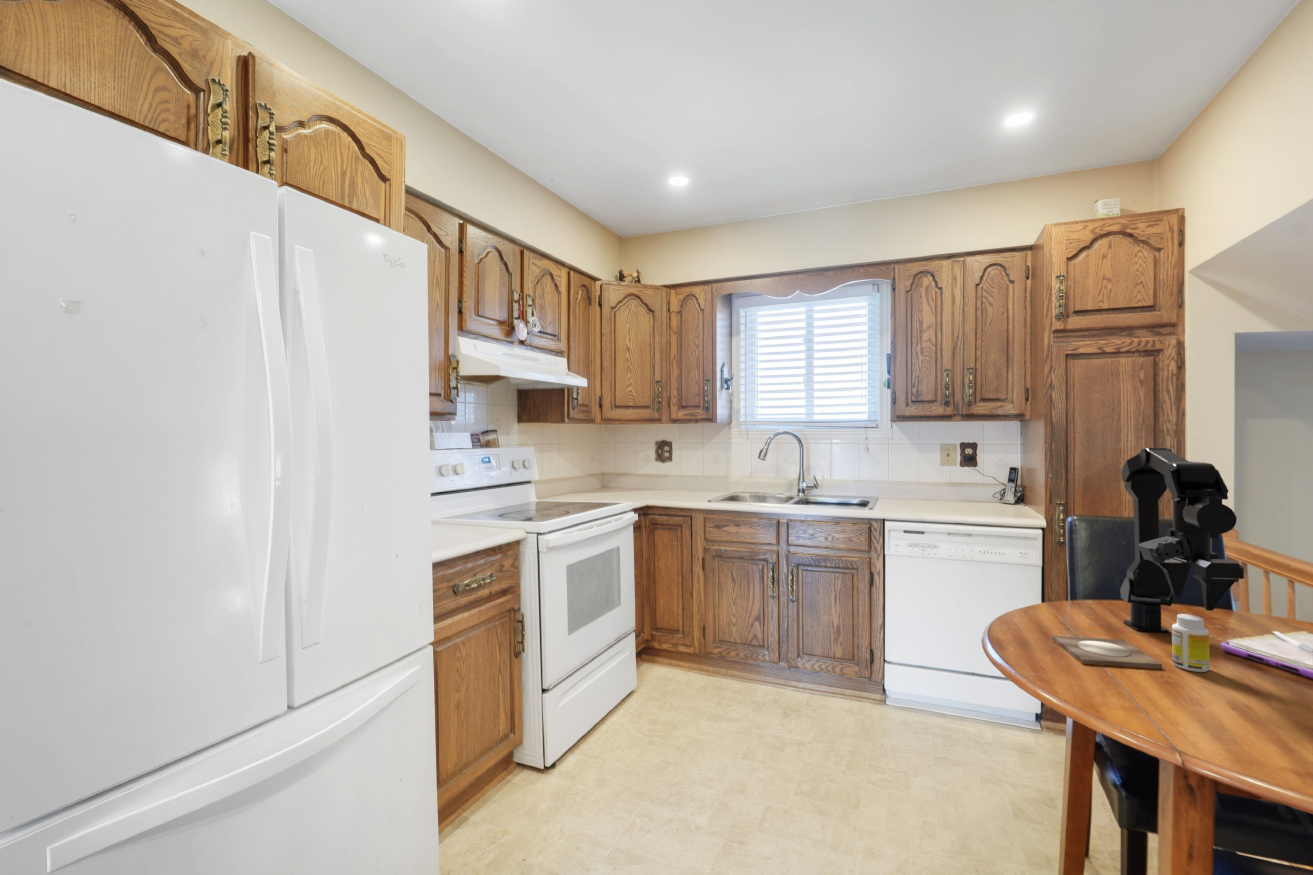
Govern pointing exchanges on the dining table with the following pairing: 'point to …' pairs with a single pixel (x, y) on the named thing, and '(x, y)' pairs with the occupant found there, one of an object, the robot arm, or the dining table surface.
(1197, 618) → the supplement bottle
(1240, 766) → the dining table surface
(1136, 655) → the board
